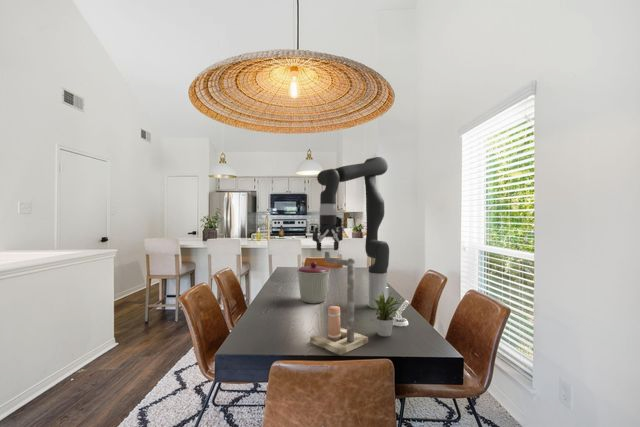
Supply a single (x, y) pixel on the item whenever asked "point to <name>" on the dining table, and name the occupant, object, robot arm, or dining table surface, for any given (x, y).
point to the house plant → (384, 314)
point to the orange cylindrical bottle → (334, 323)
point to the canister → (313, 283)
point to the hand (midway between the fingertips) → (327, 250)
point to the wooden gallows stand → (350, 337)
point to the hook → (399, 316)
